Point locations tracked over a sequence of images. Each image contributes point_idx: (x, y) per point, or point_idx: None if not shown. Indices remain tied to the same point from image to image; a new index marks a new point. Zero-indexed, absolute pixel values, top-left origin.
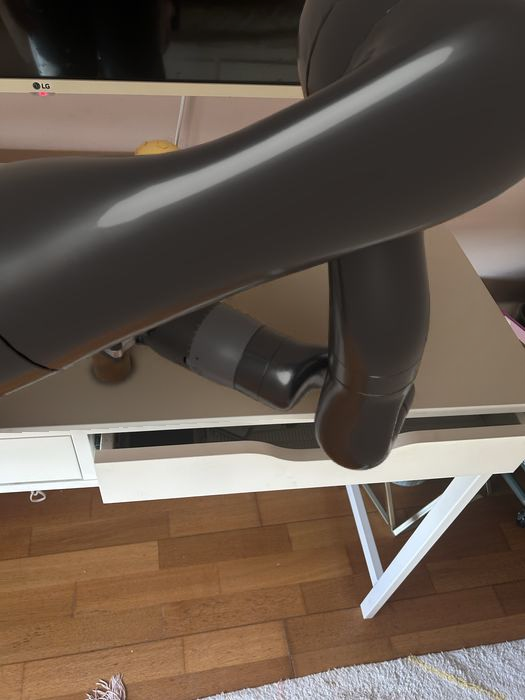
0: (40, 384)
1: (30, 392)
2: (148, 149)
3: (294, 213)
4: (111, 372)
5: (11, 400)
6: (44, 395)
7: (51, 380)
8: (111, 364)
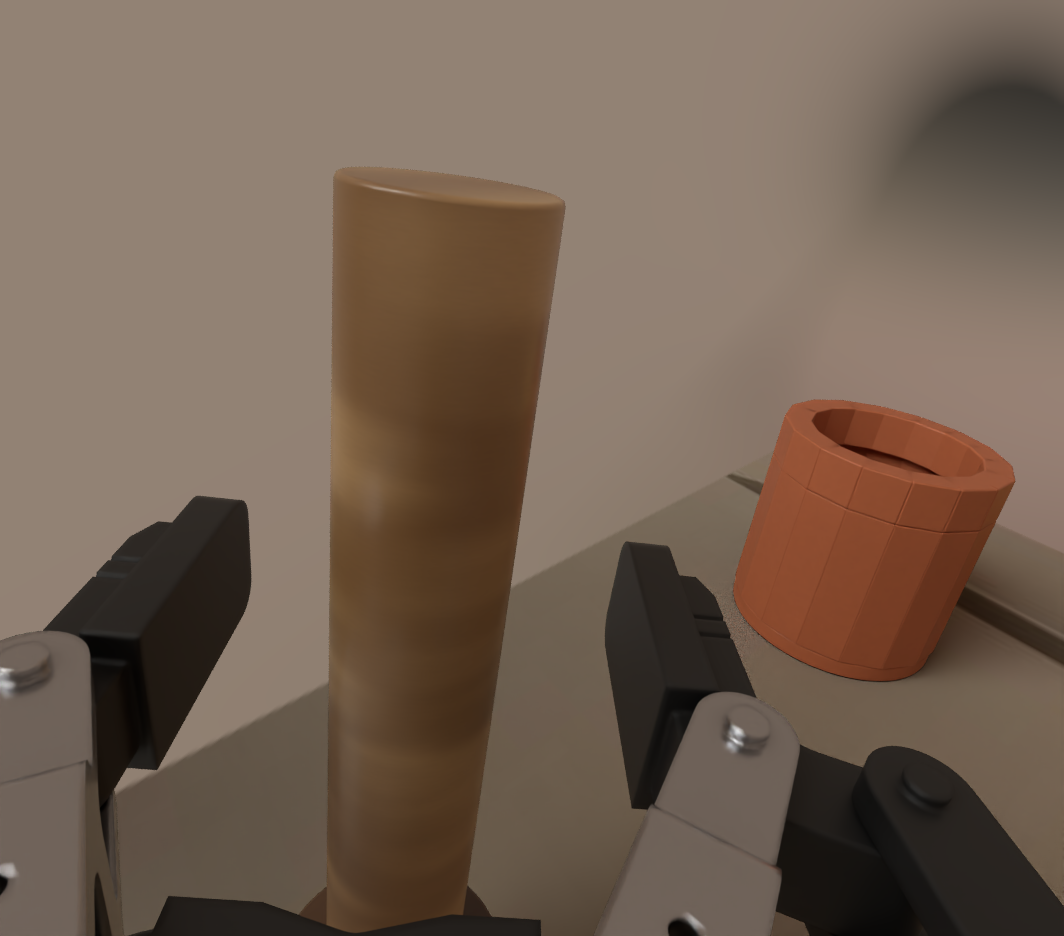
0: (186, 869)
1: (134, 863)
2: None
3: None
4: None
5: None
6: (124, 922)
7: (218, 894)
8: None
